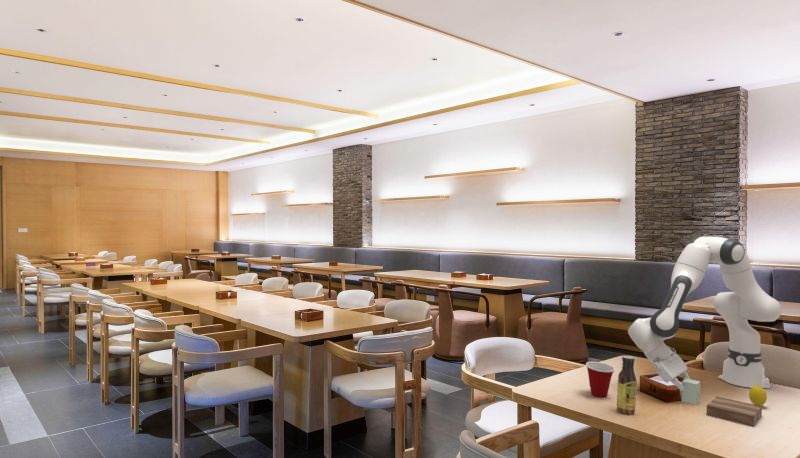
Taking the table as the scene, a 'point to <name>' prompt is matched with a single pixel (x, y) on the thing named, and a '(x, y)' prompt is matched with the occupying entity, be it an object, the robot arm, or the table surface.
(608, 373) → the plastic cup
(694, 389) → the sage block
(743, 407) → the walnut slab
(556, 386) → the table surface
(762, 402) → the lemon
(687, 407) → the table surface
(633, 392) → the sauce bottle
